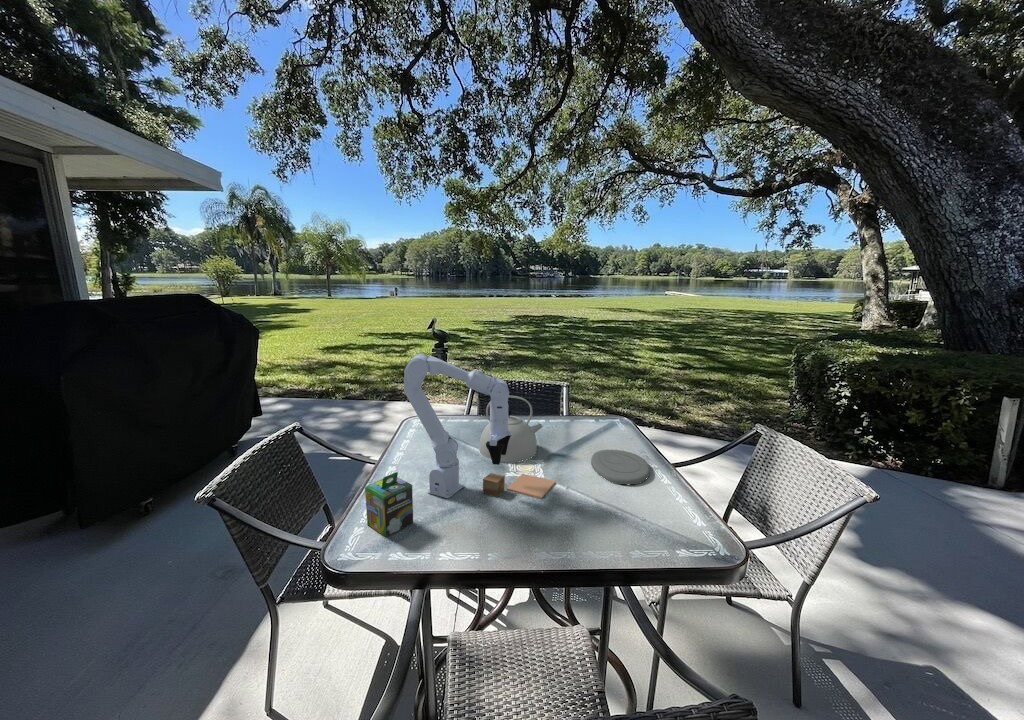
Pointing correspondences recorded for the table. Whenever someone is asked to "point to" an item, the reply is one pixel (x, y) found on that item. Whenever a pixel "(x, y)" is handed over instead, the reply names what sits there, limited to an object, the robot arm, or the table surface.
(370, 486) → the chalk box
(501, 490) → the walnut block
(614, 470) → the frisbee
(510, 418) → the kettle
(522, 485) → the terracotta tile
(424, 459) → the table surface
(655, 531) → the table surface
